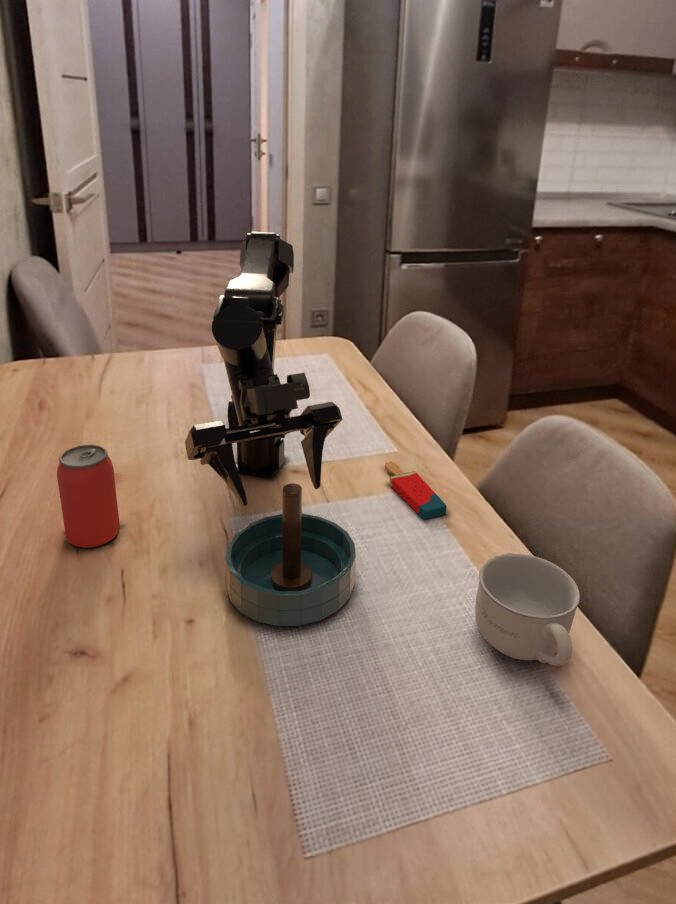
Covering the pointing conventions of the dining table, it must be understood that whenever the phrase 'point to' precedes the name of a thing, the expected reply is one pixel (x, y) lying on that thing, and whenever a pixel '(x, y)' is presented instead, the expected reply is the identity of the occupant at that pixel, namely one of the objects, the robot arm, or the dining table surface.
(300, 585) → the wooden peg stand
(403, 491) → the popsicle
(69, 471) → the beer can
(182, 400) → the dining table surface
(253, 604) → the bowl
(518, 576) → the teacup
